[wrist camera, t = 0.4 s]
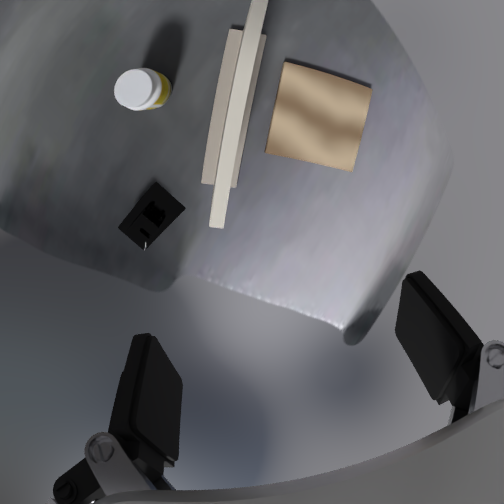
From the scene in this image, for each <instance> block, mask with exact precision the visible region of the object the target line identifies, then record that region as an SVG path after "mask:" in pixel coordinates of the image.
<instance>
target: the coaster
mask: <svg viewBox="0 0 504 504" xmlns="http://www.w3.org/2000/svg"><path fill="white" fill-rule="evenodd" d="M371 94H372V89H370V88H368V87H365V86H363V85H360V84H357V83H354V82H352V81H349V80H346V79H343V78H340V77H337V76H334V75H331V74H328V73H324V72H321V71H318V70H314V69H311V68H307V67H303V66H300V65H296V64H292V63H288V62H284V63H283V67H282V72H281V76H280V81H279V86H278V91H277V95H276V100H275V105H274V109H273V114H272V119H271V124H270V128H269V133H268V138H267V143H266V148H265V153H268V154H273V155H279V156H284V157H289V158H294V159H298V160H303V161H308V162H312V163H317V164H321V165H325V166H329V167H334V168H338V169H342V170H346V171H349V172H352V171H353V167H354V163H355V160H356V156H357V152H358V148H359V144H360V141H361V137H362V133H363V129H364V124H365V120H366V116H367V112H368V107H369V103H370V98H371Z"/></svg>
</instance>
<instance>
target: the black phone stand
mask: <svg viewBox="0 0 504 504" xmlns="http://www.w3.org/2000/svg"><path fill="white" fill-rule="evenodd" d="M184 210H185V207H184V206H183V205H182V204H181V203H180V202H179V201H177V200H176V199H175V198H174V197H173V196H172V195H171V194H169V193H168V192H167V191H166V190H165V189H164V188H163V187H161V186H160V185H159V184H158V183H157V182H155V183H154V184H153V185H152V186H151V188H150V189H149V190H148V191H147V192H146V193H145V195H144V196H143V197H142V198H141V199H140V201H139V202H138V203H137V204H136V205H135V207H134V208H133V209H132V210H131V212H130V213H129V214H128V215H127V216H126V218H125V219H124V220H123V222H122V223H121V224H120V225H119V227H118V228H119V229H120V230H121V231H122V232H123V233H124V234H125V235H127V236H128V237H129V238H130V239H131V240H132V241H134V242H135V243H136V244H137V245H138V246H139V247H141V248H142V249H143V250H146V249H147V248H148V247H149V246H150V245H151V243H152V242H153V241H154V240H155V239H156V238H157V237H158V236H159V235H160V234H161V233H162V232H163V231H164V230H165V229H166V228H167V227H168V226H169V225H170V224H171V223H172V222H173V221H174V220H175V219H176V218H177V217H178V216H179V215H180V214H181V213H182V212H183V211H184Z"/></svg>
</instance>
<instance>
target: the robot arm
mask: <svg viewBox="0 0 504 504" xmlns="http://www.w3.org/2000/svg"><path fill="white" fill-rule="evenodd" d="M395 333H396V336H397V338H398V340H399V342H400V343H401V345H402V346H403V348H404V350H405V352H406V353H407V355H408V357H409V358H410V360H411V362H412V363H413V366H414V367H415V369H416V371H417V373H418V374H419V376H420V378H421V380H422V382H423V383H424V385H425V387H426V389H427V391H428V393H429V394H430V396H431V398H432V399H433V400H436V401H437V402H438V404H439V405H440V404H442V403H444V402H446V401H448V400H449V401H450V402H451V404H452V409H451V414H450V417H449V422H448V425H447V426H446V427H444V428H442V429H440V430H438V431H437V432H434V433H432V434H430V435H428V436H426V437H424V438H422V439H420V440H418V441H415V442H413V443H411V444H408V445H406V446H404V447H401V448H399V449H397V450H394V451H392V452H389V453H387V454H384V455H381V456H378V457H376V458H373V459H370V460H367V461H364V462H361V463H358V464H355V465H352V466H348V467H345V468H341V469H338V470H334V471H331V472H327V473H323V474H319V475H315V476H310V477H306V478H301V479H296V480H291V481H285V482H279V483H273V484H267V485H260V486H252V487H242V488H231V489H216V490H185V491H183V490H176V489H175V488H174V487H173V486H172V485H171V484H170V482H169V481H168V480H167V479H166V478H165V477H164V475H163V472H164V467H174V462H175V461H177V460H178V456H179V434H180V416H181V401H182V389H183V384H182V380H181V377H180V376H179V374H178V373H177V371H176V370H175V368H174V366H173V365H172V363H171V361H170V360H169V358H168V357H167V355H166V353H165V352H164V350H163V349H162V347H161V345H160V343H159V342H158V340H157V338H156V337H155V336H151V334H150V333H145V334H138V335H134V337H133V339H132V343H131V347H130V350H129V354H128V357H127V361H126V365H125V369H124V371H123V372H122V374H121V377H120V381H119V385H118V389H117V393H116V398H115V402H114V406H113V411H112V416H111V420H110V425H109V429H108V433H107V432H99V433H96V434H94V435H93V436H91V437H90V438H89V440H88V441H87V443H86V445H85V449H84V454H85V458H84V459H83V460H82V461H80V462H79V463H78V464H76V465H75V466H74V467H72V468H71V469H70V470H68V471H67V472H66V473H65V474H63V475H62V476H61V477H59V478H58V479H57V480H56V482H55V484H54V487H53V494H54V498H51V497H50V498H49V500H48V501H47V503H46V504H504V343H503V342H501V341H495V340H493V341H489V342H488V343H486V344H485V345H483V343H482V342H481V340H480V339H479V338H478V336H477V335H476V334H475V332H474V331H473V330H472V329H471V327H470V326H469V325H468V324H467V322H466V321H465V320H464V319H463V317H462V316H461V315H460V314H459V313H458V311H457V310H456V309H455V308H454V307H453V306H452V305H451V303H450V302H449V301H448V300H447V299H446V298H445V296H444V295H443V294H442V293H441V292H440V291H439V289H437V287H436V286H435V285H434V284H433V283H432V282H431V281H430V280H429V279H428V277H427V276H426V275H425V274H424V273H423V272H422V271H417V272H413V273H410V274H407V276H406V278H405V279H404V280H403V282H402V289H401V296H400V303H399V309H398V315H397V321H396V327H395Z"/></svg>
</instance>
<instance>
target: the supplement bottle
mask: <svg viewBox="0 0 504 504" xmlns="http://www.w3.org/2000/svg"><path fill="white" fill-rule="evenodd" d="M171 91H172V87H171V83H170V81H169V79H168V78H167V77H166V76H165V75H163V74H161V73H158V72H156V71H154V70H151V69H148V68H139V69H132V70H129V71H127V72H125V73H123V74H122V75H121V76H120V77H119V78H118V80H117V82H116V84H115V89H114V92H115V97H116V99H117V101H118V102H119V103H120V104H121V105H123V106H125V107H127V108H129V109H132V110H148V109H155V108H158V107H161V106H162V105H164V104H165V103H166V102H167V100H168V99H169V97H170V95H171Z"/></svg>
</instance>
